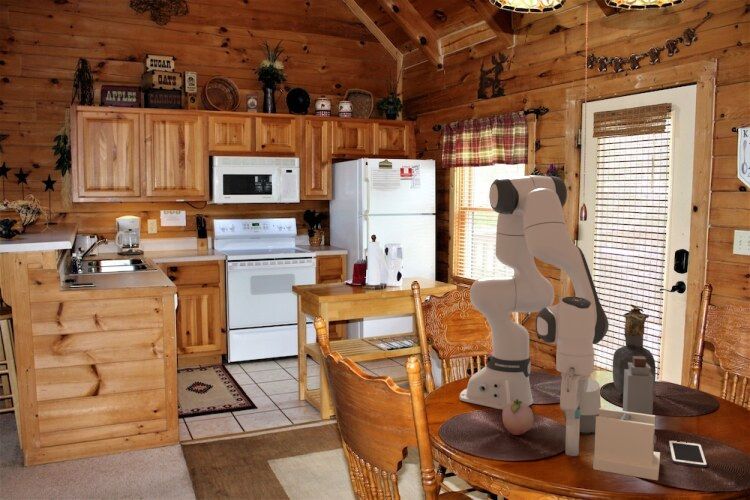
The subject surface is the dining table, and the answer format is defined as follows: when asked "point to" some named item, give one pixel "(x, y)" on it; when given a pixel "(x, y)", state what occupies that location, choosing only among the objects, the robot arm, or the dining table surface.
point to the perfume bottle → (638, 387)
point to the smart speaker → (589, 408)
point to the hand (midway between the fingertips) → (573, 418)
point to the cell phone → (687, 453)
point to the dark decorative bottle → (631, 348)
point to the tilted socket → (626, 444)
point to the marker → (573, 436)
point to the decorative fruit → (517, 417)
